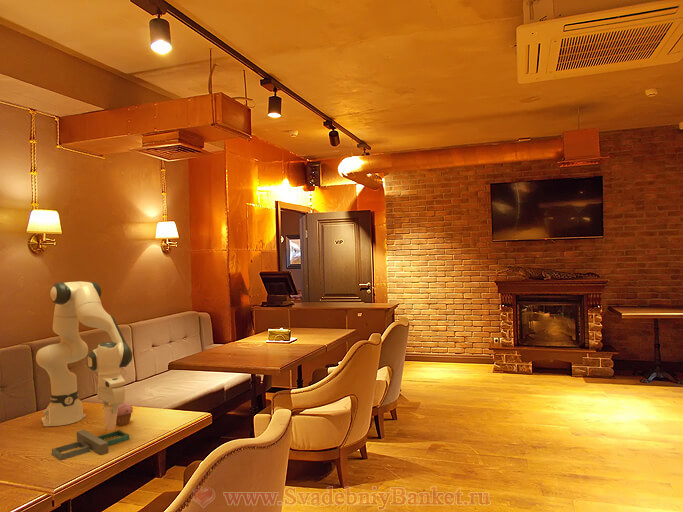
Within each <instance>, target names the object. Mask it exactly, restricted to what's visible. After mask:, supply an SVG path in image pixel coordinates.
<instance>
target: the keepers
mask: <svg viewBox="0 0 683 512" xmlns="http://www.w3.org/2000/svg"><path fill="white" fill-rule="evenodd" d="M114 436H115V438H114ZM97 437H98V438H100V439H102V440H104V439H105V440H104V441H106V442H108V447H109V446H112V445H113V446H114V445H117V444H119V443H122V442H126V441H129V440H130V439H131V438H130V437H131V436H130V434H129V433H127V432H124V431H122V430H120V429H118V430H114V431H111V432H108V433H105V434H101V435H97ZM111 437H112V438H111ZM107 438H108V439H107ZM76 448H77V449H76ZM73 449H74V450H73ZM69 450H70V451H69ZM66 451H67V452H66ZM89 452H91V449H90V446H89V445H87V444H85V443H84V442H82V441H76V442H71V443H68V444H65V445H64V444H63V445H61V446H58V447H54V448H51V455H52V456H54V457H56V459H58V460H60V461H63V460H66V459H70V458H73V457H76V456H79V455H83V454H86V453H89Z"/></svg>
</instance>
